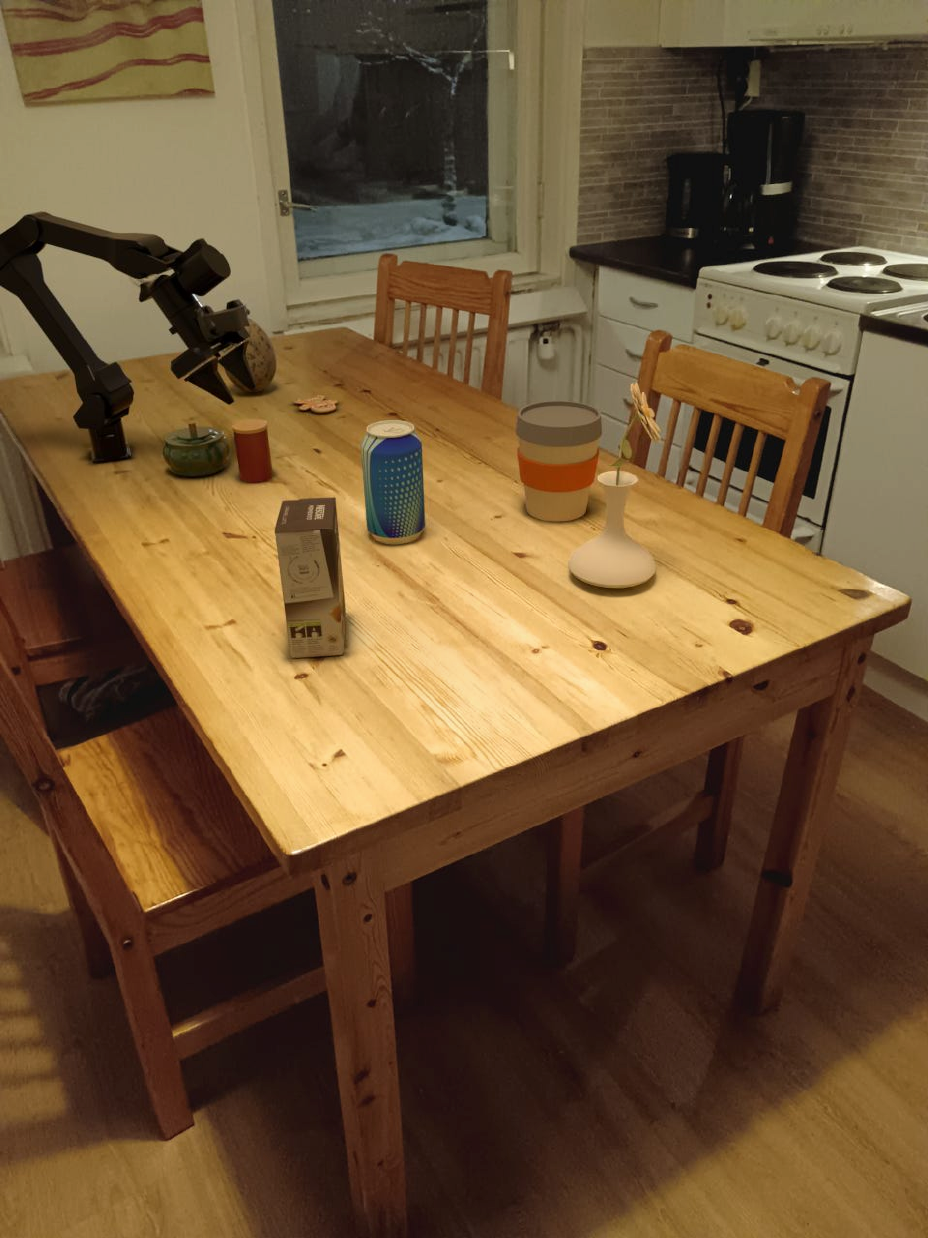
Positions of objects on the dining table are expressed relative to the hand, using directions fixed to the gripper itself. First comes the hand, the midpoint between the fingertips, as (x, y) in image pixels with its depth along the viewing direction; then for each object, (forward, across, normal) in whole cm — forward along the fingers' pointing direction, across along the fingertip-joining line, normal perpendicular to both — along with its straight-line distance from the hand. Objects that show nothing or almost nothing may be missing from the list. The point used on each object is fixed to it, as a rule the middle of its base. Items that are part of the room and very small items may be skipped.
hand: (243, 395), depth 157 cm
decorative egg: (0, +42, +19) cm, 46 cm away
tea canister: (+12, -4, +5) cm, 13 cm away
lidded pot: (+6, -1, +14) cm, 15 cm away
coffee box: (+28, -51, -16) cm, 61 cm away
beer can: (+28, -22, -19) cm, 40 cm away
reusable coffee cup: (+39, -10, -38) cm, 55 cm away
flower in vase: (+45, -30, -45) cm, 71 cm away
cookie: (+10, +33, +5) cm, 35 cm away
